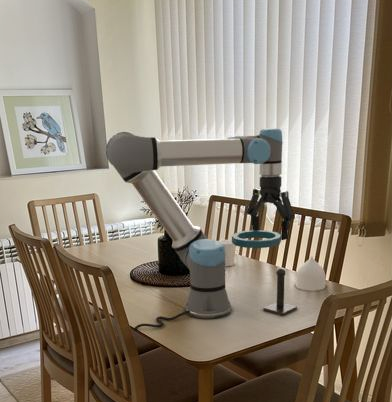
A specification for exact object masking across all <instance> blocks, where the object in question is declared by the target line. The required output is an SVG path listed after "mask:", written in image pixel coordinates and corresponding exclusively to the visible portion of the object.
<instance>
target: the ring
mask: <svg viewBox="0 0 392 402" xmlns="http://www.w3.org/2000/svg"><path fill="white" fill-rule="evenodd" d="M231 240H232V243H233V244H234V245H235V247H240V248H245V249H265V248H266V249H267V248H273V247H276V246H280V245H281V243H282V240H281V233H279V232H276V231H272V230H263V229H262V230H260V229H259V230H253V229H252V230H242V231H239V232H238V231H237V232H235V233H233V234H232V235H231Z"/></svg>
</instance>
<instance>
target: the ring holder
mask: <svg viewBox="0 0 392 402" xmlns="http://www.w3.org/2000/svg"><path fill="white" fill-rule="evenodd" d="M275 274H276V302H273V303H271V304H268V305H267V306H264V307H263V310H262V311H264V312H267V313H271V314H274V315H278V316H281V317H284V316H286V315H288V314H290V313H292V312H294V311H296V310H297V309H298V306H296V305H292V304H289V303H285V281H286V280H285V279H286V278H285V277H286V270H285V269H284V268H281V267H280V268H278V269H277V270H276V272H275Z"/></svg>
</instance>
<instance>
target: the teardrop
mask: <svg viewBox="0 0 392 402" xmlns="http://www.w3.org/2000/svg"><path fill="white" fill-rule="evenodd" d="M325 272H326V271H325V270H324V267H323V266H322V265H320V264H319V263H318V262H317V261H316V260H315V259H314V257H313V255H311V256H310V258H309V259H308V260H306V261H305V262H303V263H302V264H301V265H300V266H299V268H298V269H297V272H296V278H295V287H296V288H297V289H299V290H300V291H301V290H302V291H309V292H313V291H314V292H315V291H317V292H318V291H321V290H324V289H326V273H325Z"/></svg>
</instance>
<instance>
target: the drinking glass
mask: <svg viewBox="0 0 392 402" xmlns="http://www.w3.org/2000/svg"><path fill="white" fill-rule="evenodd" d="M218 241H219V242H221V243H222V244H223V245H224V248H225V253H226V254H225V255H226V257H225V267H232V266H234V265H235V257H236V245H234V244H233V243H232V239H220V240H218Z"/></svg>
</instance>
